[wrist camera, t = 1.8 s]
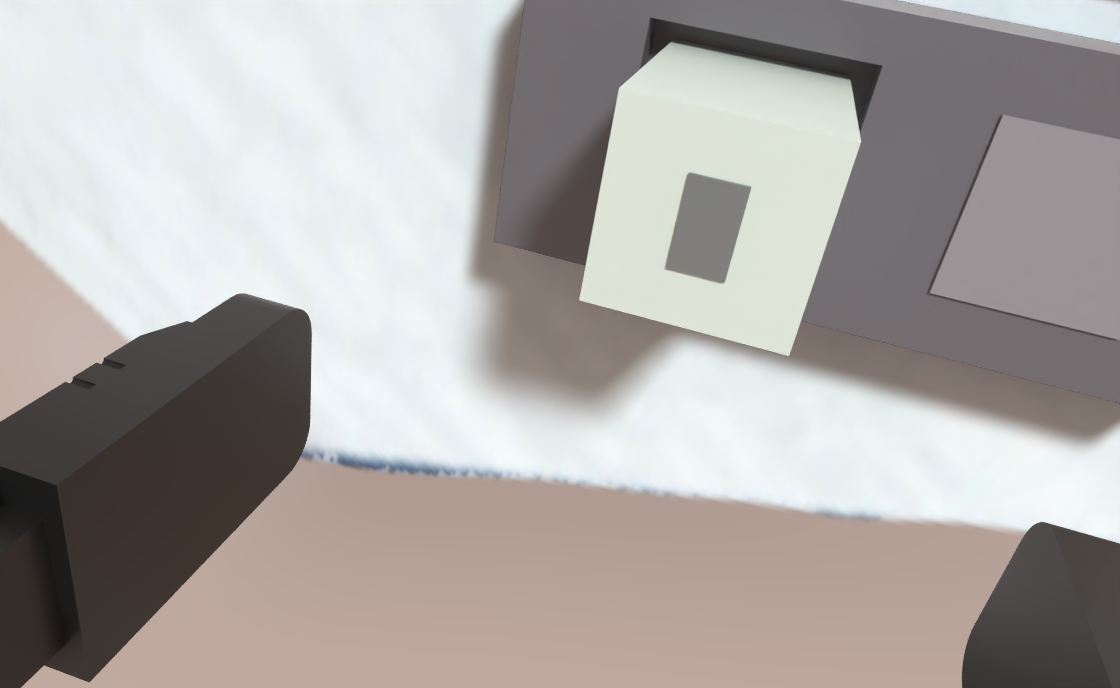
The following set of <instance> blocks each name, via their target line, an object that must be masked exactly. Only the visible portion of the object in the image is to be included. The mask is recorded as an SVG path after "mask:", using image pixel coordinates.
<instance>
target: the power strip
mask: <svg viewBox="0 0 1120 688" xmlns="http://www.w3.org/2000/svg"><path fill="white" fill-rule="evenodd" d="M674 39H677V40H682V41H686V42H691V43H696V44H701V45H705V46H710V47H715V48H720V49H724V50H729V51H734V52H739V53H743V54H748V55H753V56H757V57H762V58H767V59H772V60H776V61H781V62H786V63H791V64H795V65H800V66H805V67H810V68H814V69H819V70H824V71H829V72H833V73H838V74H843V75H848V76H850V80H851V86H852V92H853V97H854V103H855V109H856V115H857V121H858V126H859V132H860V138H861V144H860V147H859V150H858V153H857V156H856V159H855V161H854V164H853V167H852V170H851V173H850V176H849V179H848V182H847V185H846V188H845V191H844V194H843V197H842V200H841V203H840V206H839V209H838V212H837V215H836V218H835V221H834V224H833V227H832V230H831V233H830V236H829V239H828V242H827V245H826V248H825V251H824V254H823V257H822V260H821V263H820V266H819V269H818V272H817V275H816V278H815V281H814V284H813V286H812V289H811V292H810V295H809V298H808V301H807V304H806V307H805V310H804V313H803V316H802V319H801V321H803V322H807V323H810V324H814V325H818V326H822V327H826V328H830V329H834V330H837V331H841V332H845V333H849V334H853V335H857V336H861V337H865V338H868V339H872V340H876V341H880V342H884V343H888V344H892V345H895V346H899V347H903V348H907V349H911V350H915V351H919V352H923V353H926V354H930V355H934V356H938V357H942V358H946V359H950V360H954V361H957V362H961V363H965V364H969V365H973V366H977V367H981V368H984V369H988V370H992V371H996V372H1000V373H1004V374H1008V375H1012V376H1015V377H1019V378H1023V379H1027V380H1031V381H1035V382H1039V383H1042V384H1046V385H1050V386H1054V387H1058V388H1062V389H1066V390H1070V391H1073V392H1077V393H1081V394H1085V395H1089V396H1093V397H1097V398H1101V399H1104V400H1108V401H1112V402H1116V403H1120V44H1118V43H1113V42H1108V41H1103V40H1098V39H1093V38H1088V37H1083V36H1077V35H1072V34H1067V33H1062V32H1057V31H1052V30H1047V29H1042V28H1037V27H1031V26H1026V25H1021V24H1016V23H1011V22H1006V21H1001V20H996V19H990V18H985V17H980V16H975V15H970V14H965V13H960V12H955V11H949V10H944V9H939V8H934V7H929V6H924V5H919V4H914V3H909V2H903V1H898V0H525V3H524V11H523V19H522V27H521V34H520V42H519V50H518V58H517V65H516V73H515V81H514V89H513V97H512V104H511V112H510V120H509V128H508V136H507V143H506V151H505V159H504V167H503V174H502V182H501V190H500V198H499V206H498V213H497V221H496V229H495V237H494V242H497V243H501V244H505V245H509V246H513V247H516V248H520V249H524V250H528V251H532V252H536V253H540V254H543V255H547V256H551V257H555V258H559V259H563V260H567V261H571V262H574V263H578V264H582V265H586V261H587V256H588V250H589V245H590V240H591V235H592V229H593V224H594V219H595V213H596V208H597V203H598V197H599V192H600V187H601V181H602V176H603V171H604V166H605V160H606V155H607V150H608V144H609V139H610V134H611V128H612V123H613V118H614V112H615V107H616V102H617V96H618V91H619V88H620V87H621V86H622V85H623V84H624V83H625V82H626V81H627V80H629V79H630V78H631V77H632V76H633V75H634V74H635V73H637V72H638V71H639V70H640V69H641V68H642V67H643V66H644V65H646V64H647V63H648V62H649V61H650V60H651V59H652V58H653V57H655V56H656V55H657V54H658V53H659V52H660V51H661V50H662V49H664V48H665V47H666V46H667V45H668V44H669V43H670V42H672V41H673V40H674Z"/></svg>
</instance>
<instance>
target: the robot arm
mask: <svg viewBox="0 0 1120 688" xmlns="http://www.w3.org/2000/svg"><path fill="white" fill-rule="evenodd" d="M311 341H312V330H311V322H310V319H309V316H308V315H307V313H306V312H305V311H303V310H301V309H298V308H294V307H291V306H287V305H283V304H280V303H276V302H273V301H269V300H266V299H262V298H259V297H255V296H252V295H248V294H242V293H241V294H237V295H235V296H233V297H231V298H229V299H228V300H226V301H225V302H223V303H222V304H220V305H219V306H217V307H216V308H214V309H212V310H211V311H209V312H208V313H206V314H205V315H203V316H202V317H200V318H198V319H197V320H195V321H194V322H188V321H186V322H183V323H180V324H177V325H173V326H170V327H167V328H164V329H160V330H157V331H154V332H151V333H147V334H144V335H141V336H139V337H137V338H136V339H134V340H133V341H131V342H129V343H128V344H126V345H124V346H123V347H121V348H120V349H118V350H116V351H115V352H113V353H111V354H110V355H108V356H107V357H105V358H104V361H103V363H102V364H99V363H95V364H94V365H92V366H90V367H89V368H87V369H85V370H84V371H82V372H81V373H79V374H77V375H76V376H74V377H73V381H72V382H71V383H67V382H64V383H63V384H61V385H60V386H58V387H57V388H55V389H53V390H51V391H50V392H48V393H46V394H45V395H43V396H42V397H40V398H39V399H37V400H35V401H34V402H32V403H30V404H29V405H27V406H25V407H24V408H22V409H21V410H19V411H17V412H16V413H14V414H13V415H11V416H9V417H7V418H6V419H4V420H3V421H1V422H0V688H21V687H22V686H23V685H24V684H25V683H26V682H27V681H28V680H29V679H30V678H31V677H32V676H33V675H34V674H35V673H36V672H37V671H39V669H41V668H42V667H43V666H44V665H45V666H47V667H50V668H53V669H56V670H58V671H61V672H63V673H66V674H69V675H71V676H74V677H76V678H79V679H82V680H84V681H87V682H90V681H91V680H92V679H93V678H94V677H95V676H96V675H97V674H98V673H99V672H100V671H101V670H102V668H104V667H105V665H106V664H107V663H108V662H109V661H110V660H111V659H112V658H113V657H114V656H115V655H116V654H117V653H118V652H119V651H120V650H121V649H122V648H123V647H124V646H125V645H126V644H127V643H128V641H129V640H130V639H131V638H132V637H133V636H134V635H135V634H136V633H137V632H138V631H139V630H140V629H141V628H142V627H143V626H144V625H145V624H146V623H147V622H148V621H149V620H150V618H151V617H152V616H153V615H154V614H155V613H156V612H157V611H158V610H159V609H160V608H161V607H162V606H163V605H164V604H165V603H166V602H167V601H168V600H169V599H170V597H172V595H173V594H174V593H175V592H176V591H177V590H178V589H179V588H180V587H181V586H182V585H183V584H184V583H185V582H186V581H187V580H188V579H189V578H190V577H191V576H192V574H193V573H194V572H195V571H196V570H197V569H198V568H199V567H200V566H201V565H202V564H203V563H204V562H205V561H206V560H207V559H208V558H209V557H210V556H211V555H212V554H213V553H214V551H215V550H217V548H218V547H219V546H220V545H221V544H222V543H223V542H224V541H225V540H226V539H227V538H228V537H229V536H230V535H231V534H232V533H233V532H234V531H235V530H236V529H237V528H238V527H239V525H240V524H241V523H242V522H243V521H244V520H245V519H246V518H247V517H248V516H249V515H250V514H251V513H252V512H253V511H254V510H255V509H256V508H257V507H258V506H259V505H260V504H261V502H262V501H263V500H264V499H265V498H266V497H267V496H268V495H269V494H270V493H271V492H272V491H273V490H274V489H275V488H276V487H277V486H278V485H279V484H280V483H281V482H282V480H284V478H285V477H286V476H287V475H288V474H289V473H290V472H291V471H292V469H293V468H294V466H295V465H296V463H297V462H298V460H299V458H300V456H301V454H302V452H303V449H304V447H305V444H306V441H307V437H308V433H309V427H310V400H311ZM962 668H963V669H962V688H1120V544H1119V543H1116V542H1112V541H1109V540H1105V539H1102V538H1098V537H1095V536H1091V535H1088V534H1084V533H1080V532H1077V531H1073V530H1070V529H1066V528H1063V527H1059V526H1056V525H1052V524H1049V523H1045V522H1040V523H1037V524H1035V525H1033V526H1032V527H1031V528H1030V529H1029V530H1028V531H1027V533H1026V534H1025V535H1024V537H1023V539H1022V540H1021V542H1020V544H1019V546H1018V548H1017V549H1016V551H1015V553H1014V555H1013V556H1012V558H1011V560H1010V562H1009V564H1008V565H1007V567H1006V569H1005V571H1004V573H1003V574H1002V576H1001V578H1000V580H999V582H998V583H997V585H996V587H995V589H994V591H993V593H992V594H991V596H990V598H989V600H988V602H987V603H986V605H985V607H984V609H983V611H982V612H981V614H980V616H979V618H978V620H977V621H976V623H975V625H974V627H973V629H972V631H971V634H970V636H969V639H968V642H967V646H966V650H965V654H964V660H963V667H962Z"/></svg>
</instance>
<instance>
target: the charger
mask: <svg viewBox="0 0 1120 688" xmlns="http://www.w3.org/2000/svg"><path fill="white" fill-rule="evenodd" d="M860 144H861V138H860V132H859V126H858V121H857V115H856V109H855V103H854V97H853V92H852V86H851V80H850V76H848V75H843V74H838V73H833V72H829V71H824V70H819V69H814V68H810V67H805V66H800V65H795V64H791V63H786V62H781V61H776V60H772V59H767V58H762V57H757V56H753V55H748V54H743V53H739V52H734V51H729V50H724V49H720V48H715V47H710V46H705V45H701V44H696V43H691V42H686V41H682V40H677V39H674V40H673V41H672V42H670V43H669V44H668V45H667V46H666V47H665V48H664V49H662V50H661V51H660V52H659V53H658V54H657V55H656V56H655V57H653V58H652V59H651V60H650V61H649V62H648V63H647V64H646V65H644V66H643V67H642V68H641V69H640V70H639V71H638V72H637V73H635V74H634V75H633V76H632V77H631V78H630V79H629V80H627V81H626V82H625V83H624V84H623V85H622V86H621V87H620V88H619V91H618V96H617V102H616V107H615V112H614V118H613V123H612V128H611V134H610V139H609V144H608V150H607V155H606V160H605V166H604V171H603V176H602V181H601V187H600V192H599V197H598V203H597V208H596V213H595V219H594V224H593V229H592V235H591V240H590V245H589V250H588V256H587V261H586V266H585V272H584V277H583V282H582V288H581V293H580V298H579V300H580V301H584V302H587V303H591V304H595V305H599V306H602V307H606V308H610V309H614V310H618V311H621V312H625V313H629V314H633V315H636V316H640V317H644V318H648V319H651V320H655V321H659V322H663V323H666V324H670V325H674V326H678V327H682V328H685V329H689V330H693V331H697V332H700V333H704V334H708V335H712V336H715V337H719V338H723V339H727V340H730V341H734V342H738V343H742V344H746V345H749V346H753V347H757V348H761V349H764V350H768V351H772V352H776V353H779V354H783V355H787V356H789V355H790V352H791V349H792V346H793V343H794V340H795V337H796V334H797V331H798V328H799V325H800V322H801V319H802V316H803V313H804V310H805V307H806V304H807V301H808V298H809V295H810V292H811V289H812V286H813V284H814V281H815V278H816V275H817V272H818V269H819V266H820V263H821V260H822V257H823V254H824V251H825V248H826V245H827V242H828V239H829V236H830V233H831V230H832V227H833V224H834V221H835V218H836V215H837V212H838V209H839V206H840V203H841V200H842V197H843V194H844V191H845V188H846V185H847V182H848V179H849V176H850V173H851V170H852V167H853V164H854V161H855V159H856V156H857V153H858V150H859V147H860Z"/></svg>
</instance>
